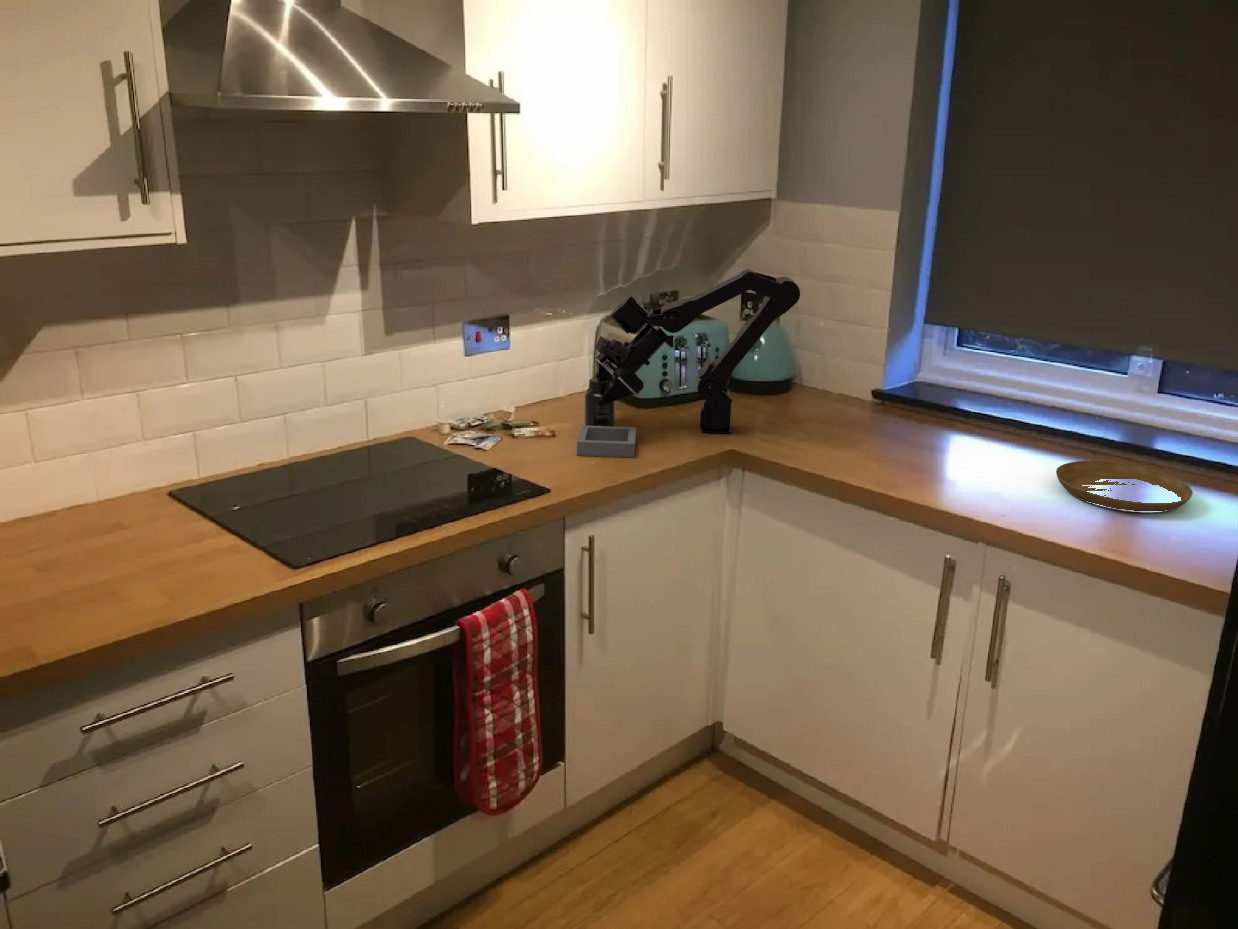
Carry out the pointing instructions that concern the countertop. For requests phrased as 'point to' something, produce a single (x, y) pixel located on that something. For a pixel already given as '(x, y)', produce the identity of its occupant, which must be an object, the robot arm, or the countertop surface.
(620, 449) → the holder
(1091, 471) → the plant saucer
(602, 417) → the supplement bottle
